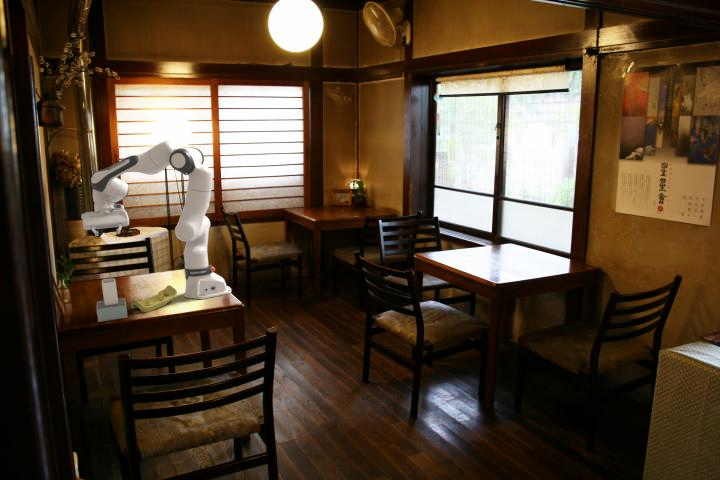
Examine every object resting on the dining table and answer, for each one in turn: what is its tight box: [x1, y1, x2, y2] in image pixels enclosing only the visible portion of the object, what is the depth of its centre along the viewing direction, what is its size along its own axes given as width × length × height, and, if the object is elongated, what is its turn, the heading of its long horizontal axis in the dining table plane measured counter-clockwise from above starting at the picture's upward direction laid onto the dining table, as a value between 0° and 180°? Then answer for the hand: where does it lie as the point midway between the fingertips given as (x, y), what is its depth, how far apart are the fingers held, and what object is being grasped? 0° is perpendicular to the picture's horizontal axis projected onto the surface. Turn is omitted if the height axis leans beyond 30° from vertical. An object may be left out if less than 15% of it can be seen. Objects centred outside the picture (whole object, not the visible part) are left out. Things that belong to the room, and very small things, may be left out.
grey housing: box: [101, 277, 119, 305], centre depth 264 cm, size 6×6×11 cm
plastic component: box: [130, 284, 178, 313], centre depth 278 cm, size 20×7×10 cm
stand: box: [96, 297, 129, 323], centre depth 265 cm, size 12×12×6 cm
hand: (107, 234), depth 279 cm, fingers open, 8 cm apart
